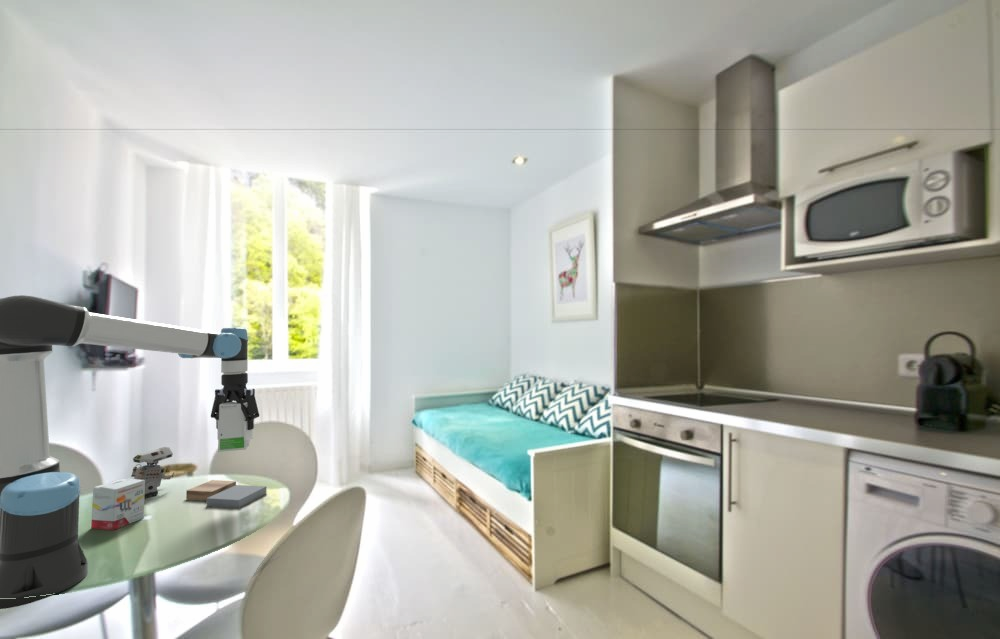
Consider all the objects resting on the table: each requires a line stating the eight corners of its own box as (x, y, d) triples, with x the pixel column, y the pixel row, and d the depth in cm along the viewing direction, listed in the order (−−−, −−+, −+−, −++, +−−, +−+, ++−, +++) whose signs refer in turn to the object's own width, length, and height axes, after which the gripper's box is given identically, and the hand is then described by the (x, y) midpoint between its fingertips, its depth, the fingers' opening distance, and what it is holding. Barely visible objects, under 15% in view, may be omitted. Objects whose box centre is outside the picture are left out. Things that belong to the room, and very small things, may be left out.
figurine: (177, 489, 146) (178, 448, 147) (136, 500, 137) (137, 456, 137) (168, 485, 151) (169, 444, 152) (128, 495, 142) (129, 452, 142)
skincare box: (217, 452, 132) (217, 404, 132) (222, 447, 138) (222, 401, 138) (247, 449, 135) (247, 402, 135) (251, 444, 141) (250, 399, 141)
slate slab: (239, 508, 129) (239, 500, 129) (206, 506, 131) (206, 498, 131) (266, 493, 141) (266, 486, 141) (236, 492, 143) (236, 484, 143)
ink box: (113, 530, 115) (114, 488, 115) (90, 528, 117) (91, 487, 117) (145, 517, 123) (146, 478, 124) (123, 515, 125) (124, 476, 126)
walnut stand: (211, 500, 135) (212, 491, 136) (186, 499, 137) (186, 490, 137) (235, 489, 145) (236, 481, 145) (211, 488, 147) (211, 480, 147)
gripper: (271, 371, 138) (272, 437, 138) (217, 372, 143) (217, 435, 142) (254, 374, 131) (254, 443, 130) (197, 374, 136) (197, 441, 135)
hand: (235, 439), depth 136 cm, fingers closed on skincare box, 10 cm apart
